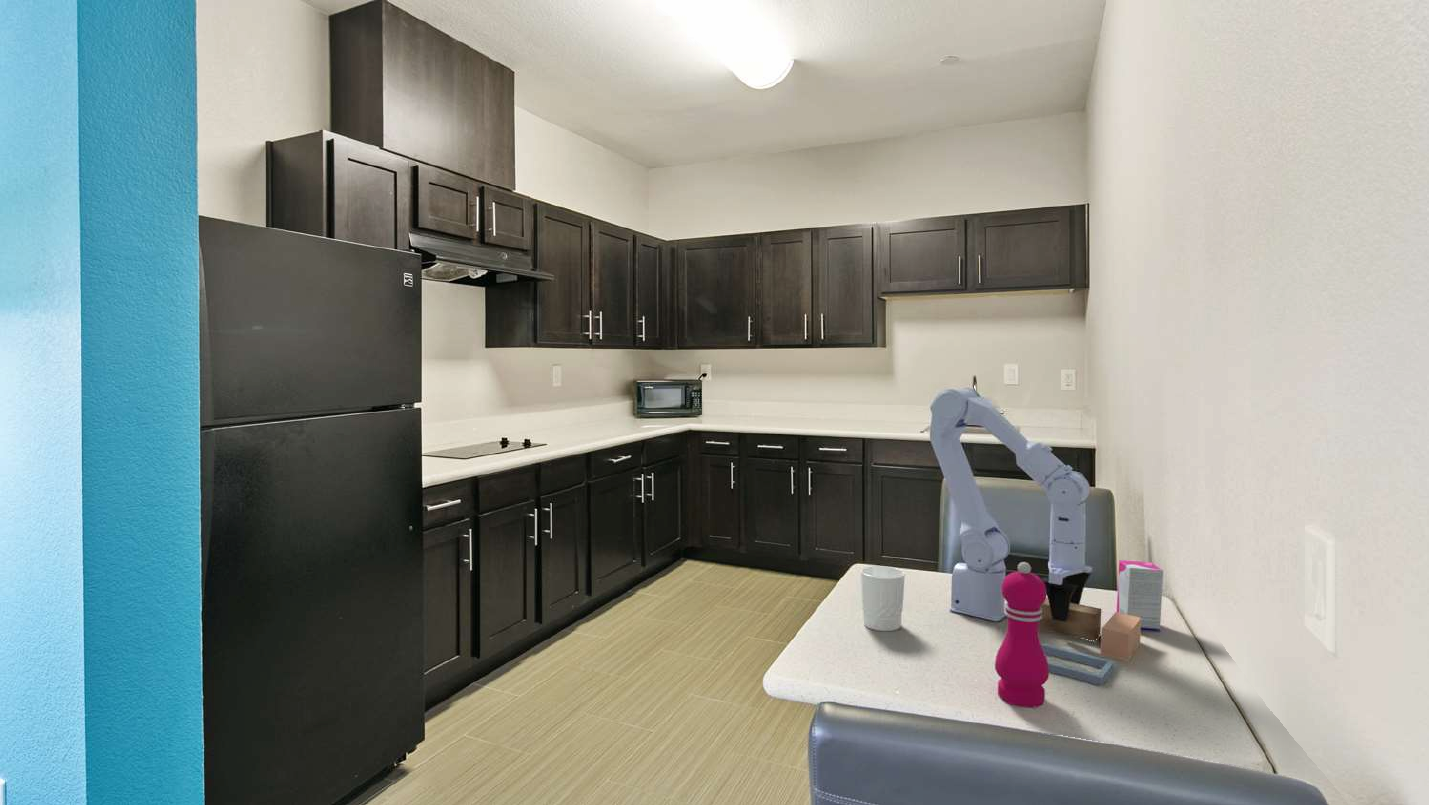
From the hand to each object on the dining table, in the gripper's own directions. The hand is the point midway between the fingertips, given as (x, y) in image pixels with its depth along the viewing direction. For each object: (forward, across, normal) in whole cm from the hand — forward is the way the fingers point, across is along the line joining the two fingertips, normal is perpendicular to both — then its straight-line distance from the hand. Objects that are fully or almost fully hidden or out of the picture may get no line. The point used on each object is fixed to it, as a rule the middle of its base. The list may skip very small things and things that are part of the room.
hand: (1065, 614), depth 130 cm
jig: (+3, -16, -3) cm, 17 cm away
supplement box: (+3, +12, -9) cm, 16 cm away
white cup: (+3, -19, +27) cm, 33 cm away
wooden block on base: (+3, 0, 0) cm, 3 cm away
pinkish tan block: (+3, -2, -9) cm, 10 cm away
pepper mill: (+3, -32, -2) cm, 32 cm away
